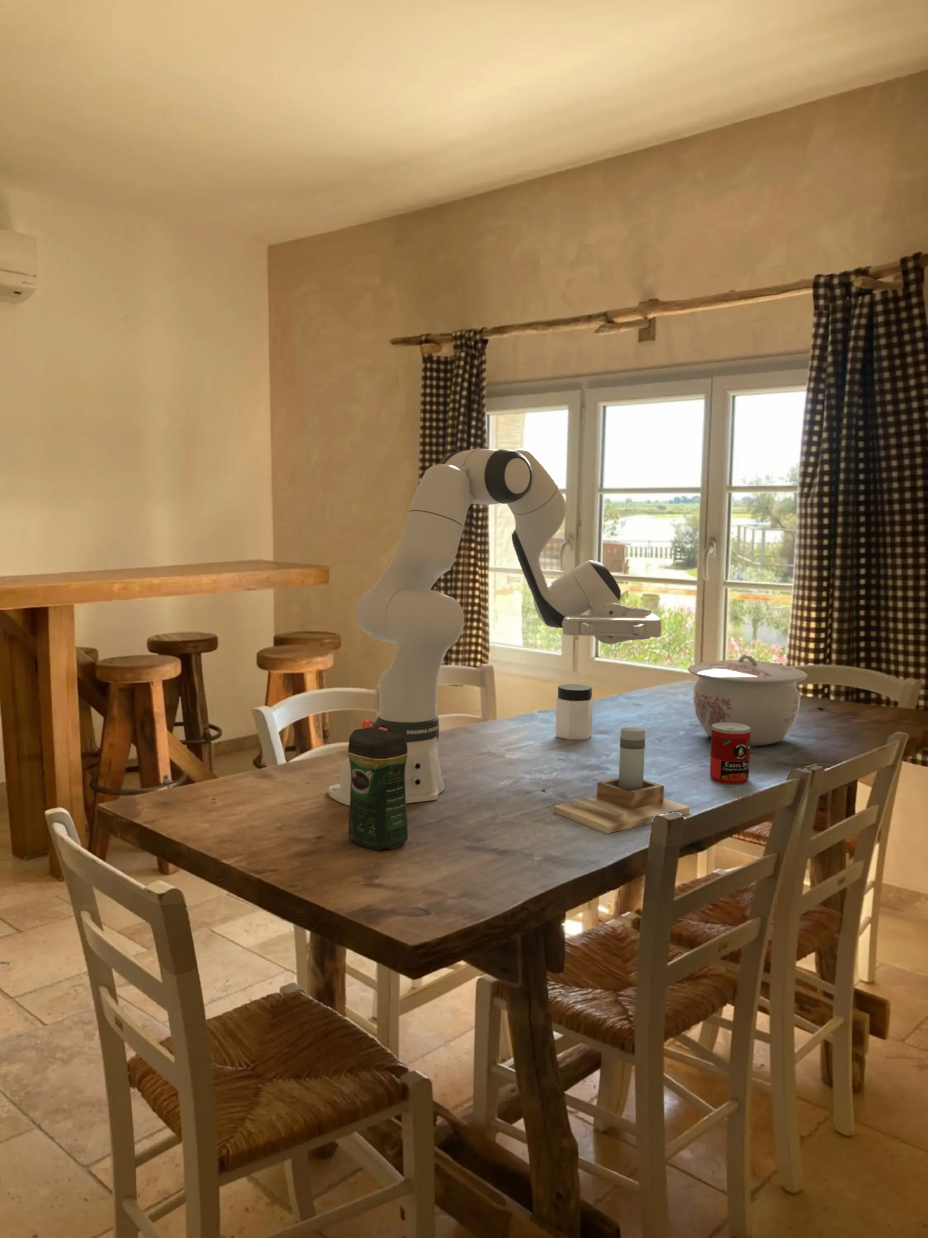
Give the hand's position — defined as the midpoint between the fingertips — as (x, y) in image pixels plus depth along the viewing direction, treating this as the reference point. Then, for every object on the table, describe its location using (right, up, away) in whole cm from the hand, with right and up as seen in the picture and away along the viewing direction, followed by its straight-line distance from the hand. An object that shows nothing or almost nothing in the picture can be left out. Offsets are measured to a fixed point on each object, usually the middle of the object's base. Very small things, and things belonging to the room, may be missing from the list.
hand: (613, 630), depth 195 cm
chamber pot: (+37, -27, +36) cm, 58 cm away
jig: (-2, -33, -21) cm, 39 cm away
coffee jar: (-44, -34, -38) cm, 67 cm away
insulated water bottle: (0, -31, -17) cm, 35 cm away
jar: (-4, -26, +38) cm, 47 cm away
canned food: (+24, -30, +2) cm, 39 cm away
